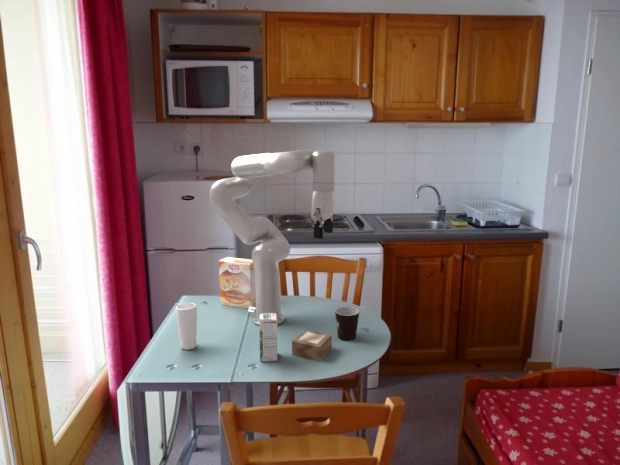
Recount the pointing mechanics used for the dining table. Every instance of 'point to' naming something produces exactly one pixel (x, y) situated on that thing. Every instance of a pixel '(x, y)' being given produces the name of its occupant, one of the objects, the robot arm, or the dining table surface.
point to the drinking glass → (187, 325)
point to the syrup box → (268, 337)
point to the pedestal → (312, 345)
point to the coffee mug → (347, 322)
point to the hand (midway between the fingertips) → (323, 235)
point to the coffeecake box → (237, 282)
